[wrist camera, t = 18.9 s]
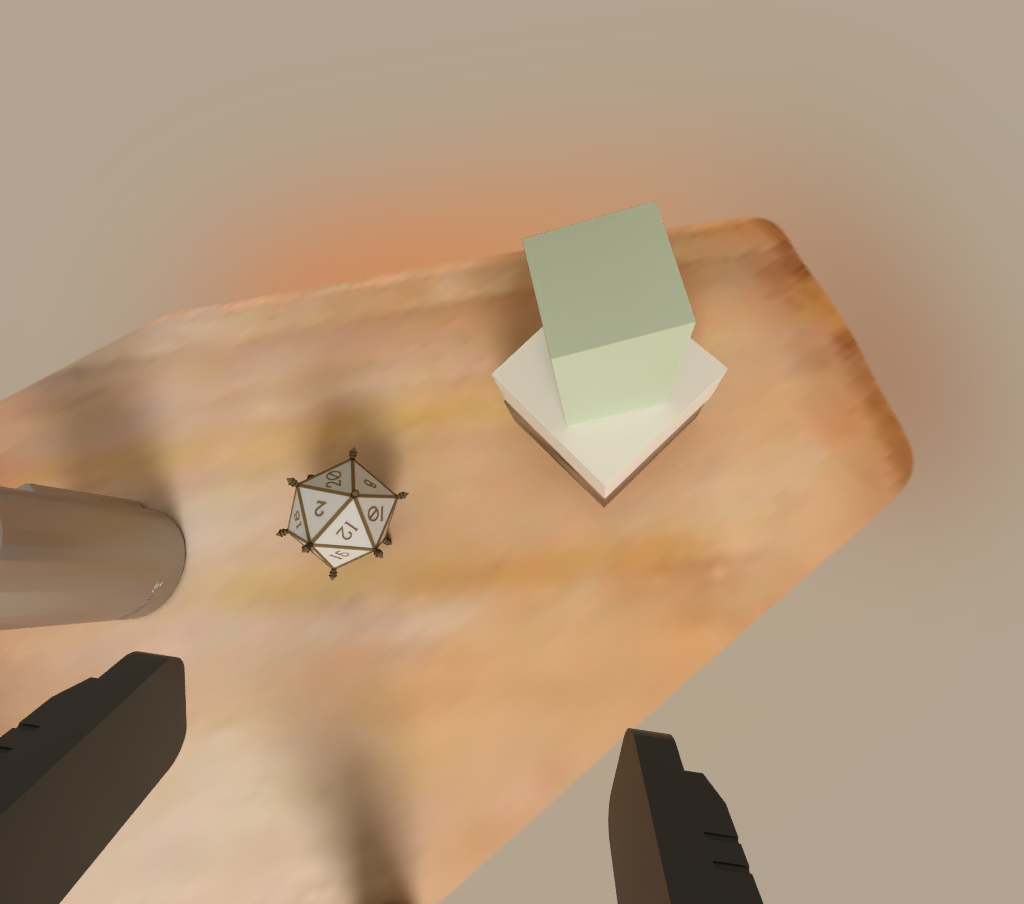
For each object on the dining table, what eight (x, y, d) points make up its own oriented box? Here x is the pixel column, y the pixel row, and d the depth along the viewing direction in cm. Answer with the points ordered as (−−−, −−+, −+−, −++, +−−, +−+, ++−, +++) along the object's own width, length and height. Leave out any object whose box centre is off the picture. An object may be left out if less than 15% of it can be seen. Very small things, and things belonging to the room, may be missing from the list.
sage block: (666, 402, 31) (695, 321, 21) (566, 426, 31) (551, 359, 22) (640, 313, 32) (655, 200, 23) (545, 338, 33) (522, 239, 23)
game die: (364, 517, 46) (268, 455, 40) (437, 481, 43) (342, 406, 37) (343, 611, 40) (225, 554, 34) (425, 578, 37) (310, 508, 31)
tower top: (505, 400, 38) (491, 374, 33) (604, 307, 38) (605, 267, 33) (604, 498, 35) (605, 486, 30) (710, 397, 35) (727, 368, 31)
